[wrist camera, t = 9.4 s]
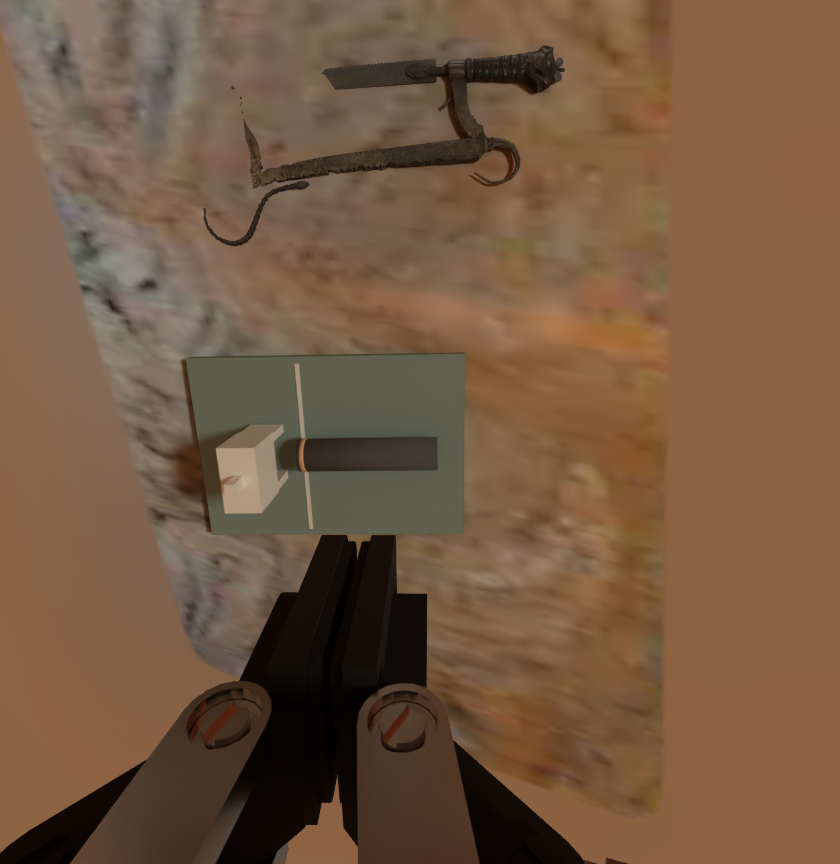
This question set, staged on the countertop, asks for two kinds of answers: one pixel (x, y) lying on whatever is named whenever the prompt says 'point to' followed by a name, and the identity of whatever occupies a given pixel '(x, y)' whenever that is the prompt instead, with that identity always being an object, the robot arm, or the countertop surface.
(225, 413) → the cutting mat
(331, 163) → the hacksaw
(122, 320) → the countertop surface
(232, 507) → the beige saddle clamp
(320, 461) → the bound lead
